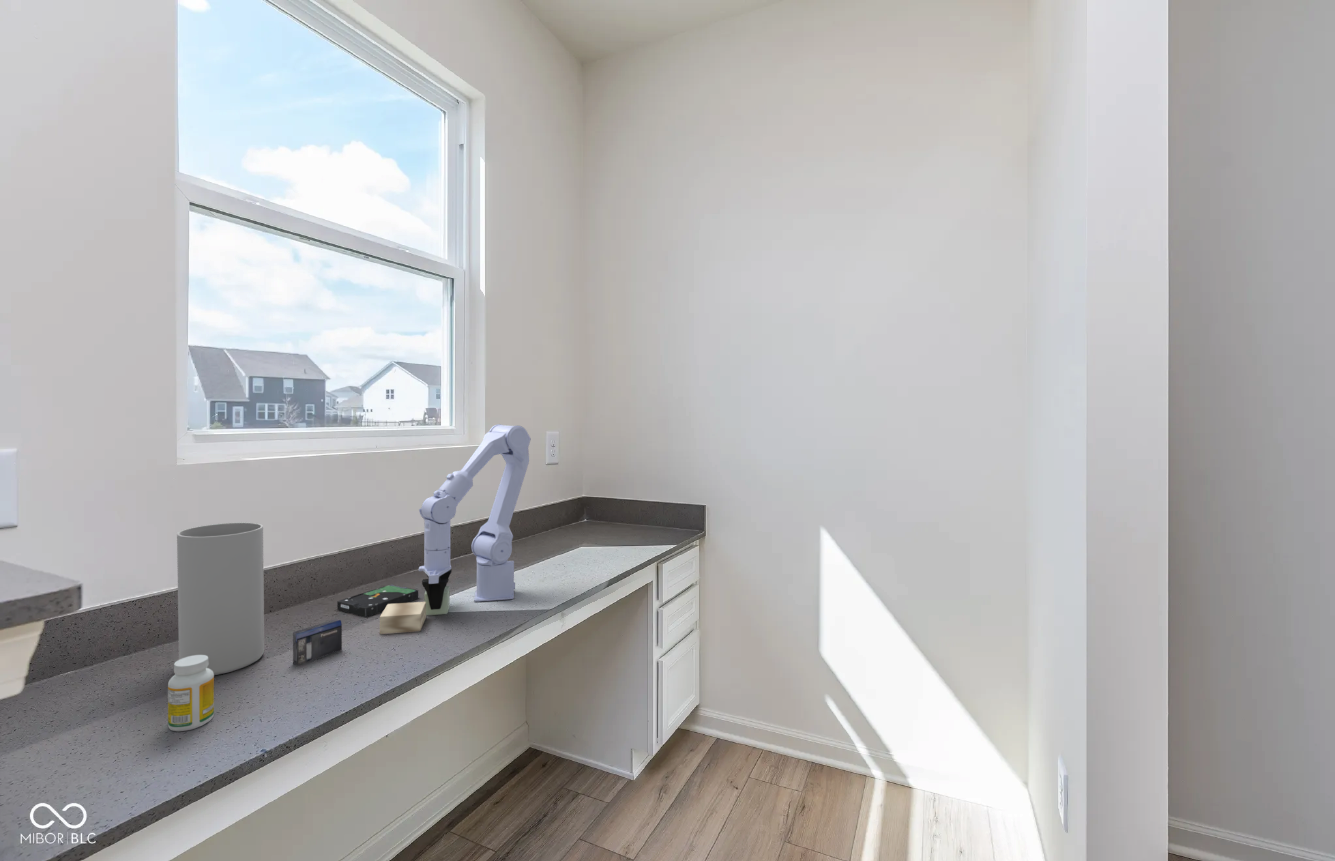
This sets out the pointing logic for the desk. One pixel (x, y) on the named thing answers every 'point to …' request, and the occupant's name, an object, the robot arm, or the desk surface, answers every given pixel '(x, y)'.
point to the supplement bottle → (190, 694)
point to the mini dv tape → (317, 641)
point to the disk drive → (376, 600)
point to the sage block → (444, 605)
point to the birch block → (403, 617)
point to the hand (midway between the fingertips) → (437, 604)
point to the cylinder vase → (221, 594)
